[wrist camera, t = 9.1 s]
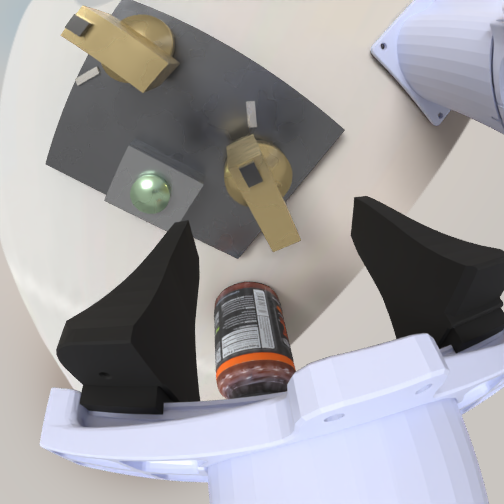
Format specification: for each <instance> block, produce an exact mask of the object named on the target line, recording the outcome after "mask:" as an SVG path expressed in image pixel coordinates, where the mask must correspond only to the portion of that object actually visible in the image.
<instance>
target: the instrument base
mask: <svg viewBox="0 0 504 504" xmlns="http://www.w3.org/2000/svg"><path fill="white" fill-rule="evenodd" d="M112 15H113V16H114V17H116V18H117V19H119V20H120V21H121V20H123V19H125V18H127V17H130V16H133V15H150V16H153V17H156V18H158V19H159V20H161V21H162V22H164V23H165V24H166V25H168V27H169V28H170V29H171V31H172V32H173V35H174V38H175V51H174V55H173V58H174V59H175V60H177V61H178V62H179V63H180V64H179V65H178V66H177V68H176V69H175V70H174V71H173V72H172V73H171V74H170V75H169V76H168V77H167V79H166V80H165V81H164V82H163V83H162V84H161V85H160V86H159V87H156V88H154V89H151V90H149V91H147V92H144V93H142V92H141V91H139V90H138V89H137V88H135V87H134V86H133V85H131V84H130V83H123V82H119V81H117V80H115V79H113V78H111V77H110V76H109V75H108V74H107V73H106V72H105V70H104V69H103V67H102V65H101V62H99V61H98V60H97V59H95V58H94V57H92V56H91V55H89V54H88V56H87V58H86V60H85V62H84V64H83V66H82V68H81V70H80V72H79V74H78V76H77V78H76V79H75V80H76V81H75V83H74V85H73V88H72V90H71V92H70V94H69V97H68V99H67V102H66V104H65V107H64V109H63V112H62V115H61V117H60V120H59V123H58V126H57V128H56V131H55V134H54V137H53V140H52V144H51V147H50V150H49V153H48V157H47V160H46V165H48V166H50V167H52V168H54V169H56V170H58V171H60V172H62V173H64V174H66V175H68V176H70V177H72V178H74V179H76V180H78V181H80V182H82V183H84V184H86V185H88V186H90V187H92V188H94V189H96V190H98V191H100V192H102V193H104V194H106V197H105V200H104V201H106V202H108V203H110V204H112V205H114V206H116V207H118V208H120V209H122V210H124V211H126V212H128V213H130V214H132V215H134V216H137V217H139V218H141V219H143V220H145V221H147V222H149V223H151V224H153V225H155V226H157V227H159V228H161V229H163V230H165V231H168V230H169V229H170V228H171V226H172V225H173V224H174V223H175V222H180V221H186V220H189V224H190V227H191V231H192V235H193V237H194V238H196V239H198V240H200V241H202V242H204V243H206V244H208V245H210V246H212V247H214V248H216V249H218V250H221V251H223V252H225V253H227V254H229V255H231V256H233V257H235V258H237V259H238V258H239V257H240V256H241V255H242V253H243V252H244V251H245V250H246V249H247V247H248V246H249V245H250V244H251V242H252V241H253V240H254V239H255V238H256V236H257V235H258V234H259V233H260V232H261V229H260V227H259V225H258V223H257V221H256V219H255V217H254V216H253V214H252V212H251V210H250V208H249V207H247V206H244V205H241V204H239V203H238V202H236V201H235V200H234V199H233V198H232V197H231V196H230V195H229V193H228V191H227V189H226V186H225V182H224V165H225V162H226V159H227V148H226V146H228V145H230V144H232V143H234V142H237V141H239V140H241V139H243V138H245V137H247V136H249V135H252V134H253V135H254V137H255V139H256V140H262V141H267V142H270V143H272V144H274V145H276V146H277V147H278V148H279V149H280V150H281V151H282V152H283V153H284V155H285V156H286V158H287V159H288V161H289V163H290V165H291V168H292V182H291V186H290V188H289V190H288V192H287V193H286V194H285V196H284V197H283V199H284V201H286V200H287V199H288V198H289V196H290V195H291V194H292V193H293V192H294V190H295V189H296V188H297V187H298V186H299V184H300V183H301V182H302V181H303V180H304V178H305V177H306V176H307V175H308V174H309V172H310V171H311V170H312V169H313V168H314V166H315V165H316V164H317V163H318V162H319V160H320V159H321V158H322V157H323V156H324V154H325V153H326V152H327V151H328V150H329V148H330V147H331V146H332V145H333V144H334V142H335V141H336V140H337V139H338V138H339V136H340V135H341V134H342V133H343V132H344V131H345V130H344V129H343V128H342V127H341V126H340V125H339V124H337V123H336V122H335V121H334V120H333V119H331V118H330V117H329V116H328V115H327V114H325V113H324V112H323V111H322V110H321V109H319V108H318V107H317V106H316V105H314V104H313V103H312V102H310V101H309V100H308V99H307V98H305V97H304V96H303V95H301V94H300V93H299V92H297V91H296V90H295V89H293V88H292V87H291V86H289V85H288V84H286V83H285V82H284V81H282V80H281V79H279V78H278V77H277V76H275V75H274V74H272V73H271V72H269V71H268V70H266V69H265V68H263V67H262V66H260V65H259V64H257V63H256V62H254V61H252V60H251V59H249V58H248V57H246V56H245V55H243V54H241V53H240V52H238V51H236V50H235V49H233V48H231V47H230V46H228V45H226V44H224V43H223V42H221V41H219V40H217V39H215V38H214V37H212V36H210V35H208V34H206V33H204V32H202V31H200V30H199V29H197V28H195V27H193V26H191V25H189V24H187V23H184V22H182V21H180V20H178V19H176V18H174V17H172V16H169V15H167V14H165V13H163V12H160V11H158V10H156V9H153V8H151V7H148V6H146V5H143V4H141V3H138V2H135V1H133V0H121V2H120V3H119V4H118V6H117V7H116V9H115V10H114V12H113V13H112Z"/></svg>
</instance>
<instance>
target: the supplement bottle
mask: <svg viewBox="0 0 504 504" xmlns="http://www.w3.org/2000/svg"><path fill="white" fill-rule="evenodd" d="M214 321H215V359H216V380H217V386H218V390H219V392H220V393H221V394H222V396H224V397H225V398H226V399H235V398H244V397H252V396H260V395H267V394H273V393H280V392H286V391H287V384H288V383H289V381H290V379H291V377H292V376H293V374H294V373H295V372H296V370H295V366H294V363H293V357H292V353H291V348H290V344H289V340H288V336H287V331H286V327H285V322H284V318H283V314H282V309H281V304H280V302H279V299H278V297H277V295H276V293H275V292H274V291H273V290H272V289H271V288H270V287H269V286H266V285H264V284H260V283H256V282H242V283H238V284H234V285H232V286H230V287H228V288H226V289H225V290H224V291H222V292H221V294H220V295H219V296H218V297H217V299H216V302H215V310H214Z"/></svg>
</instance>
